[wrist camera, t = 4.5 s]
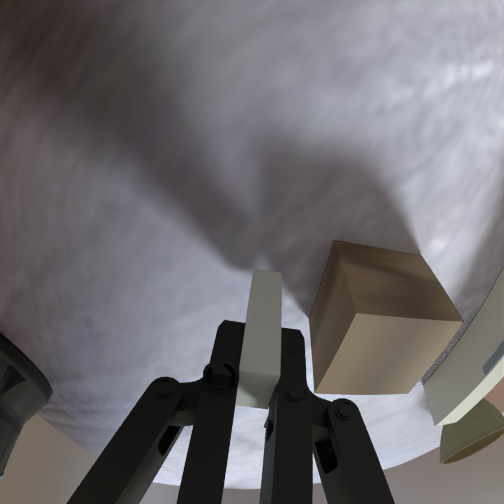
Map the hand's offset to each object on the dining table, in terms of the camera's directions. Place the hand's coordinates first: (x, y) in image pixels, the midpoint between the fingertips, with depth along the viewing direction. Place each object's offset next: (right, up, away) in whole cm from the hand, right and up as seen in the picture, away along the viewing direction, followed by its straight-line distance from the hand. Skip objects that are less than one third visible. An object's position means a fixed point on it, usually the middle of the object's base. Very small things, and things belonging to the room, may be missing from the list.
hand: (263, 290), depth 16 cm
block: (+7, 0, +1) cm, 7 cm away
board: (+19, -2, +1) cm, 19 cm away
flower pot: (+27, -18, +10) cm, 34 cm away
